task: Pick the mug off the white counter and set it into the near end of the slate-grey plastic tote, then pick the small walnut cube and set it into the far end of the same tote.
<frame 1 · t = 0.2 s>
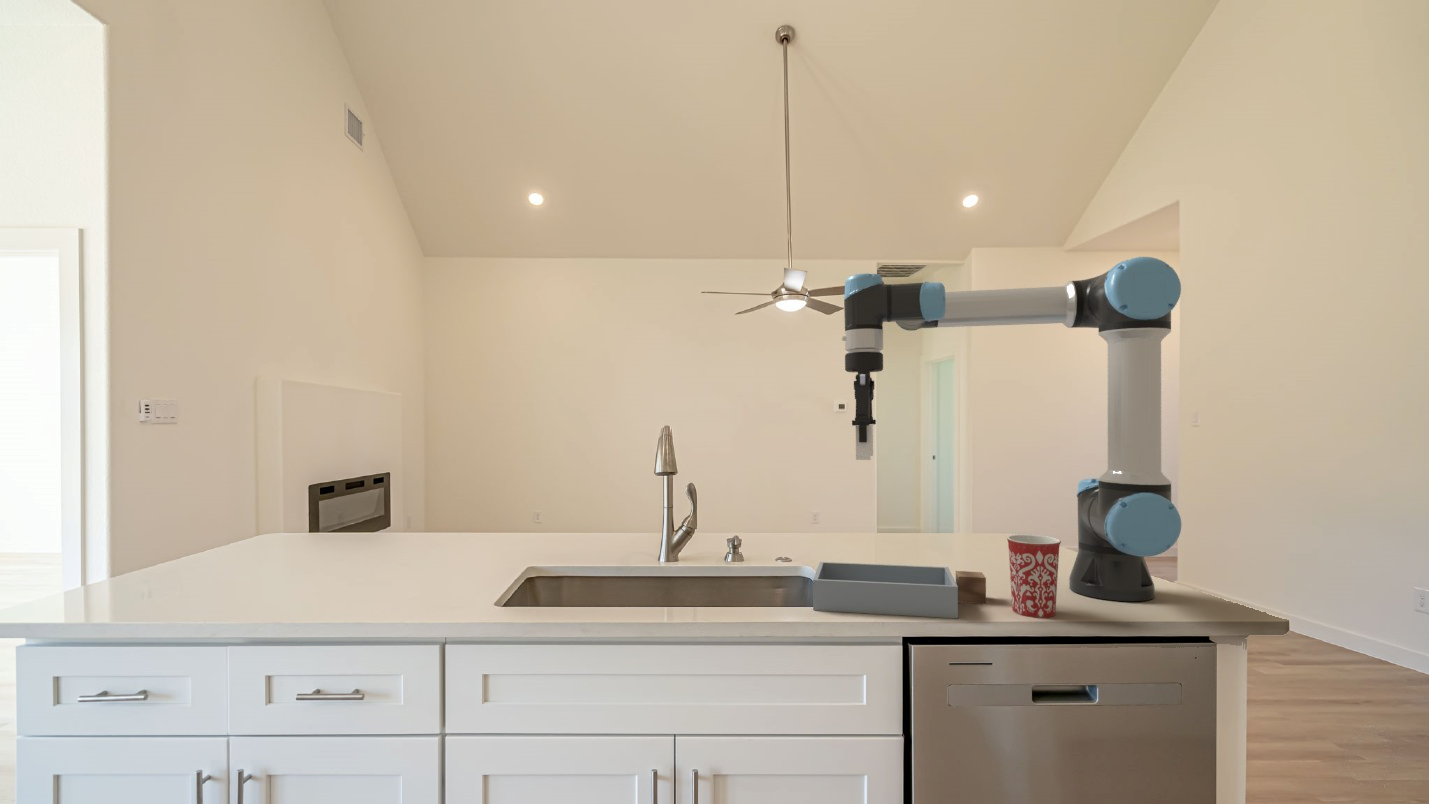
hand: (864, 457, 142), 28 cm above the table, fingers open, 13 cm apart
cube: (970, 599, 139), on the table
tote: (883, 602, 137), on the table
mug: (1031, 610, 132), on the table
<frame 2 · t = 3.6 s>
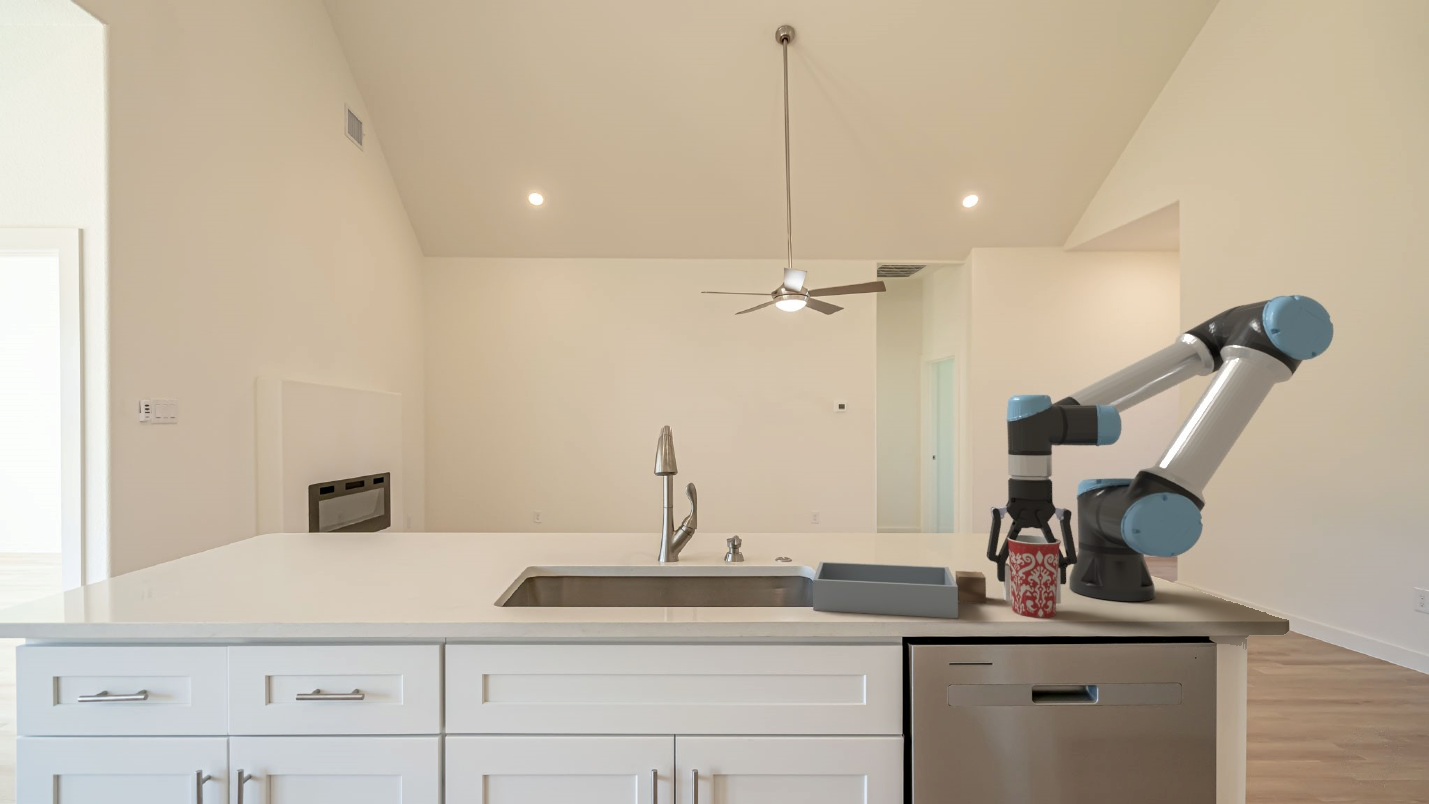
hand: (1031, 600, 132), 2 cm above the table, fingers closed on mug, 8 cm apart
mug: (1031, 610, 132), on the table, touching gripper
everything else where it was.
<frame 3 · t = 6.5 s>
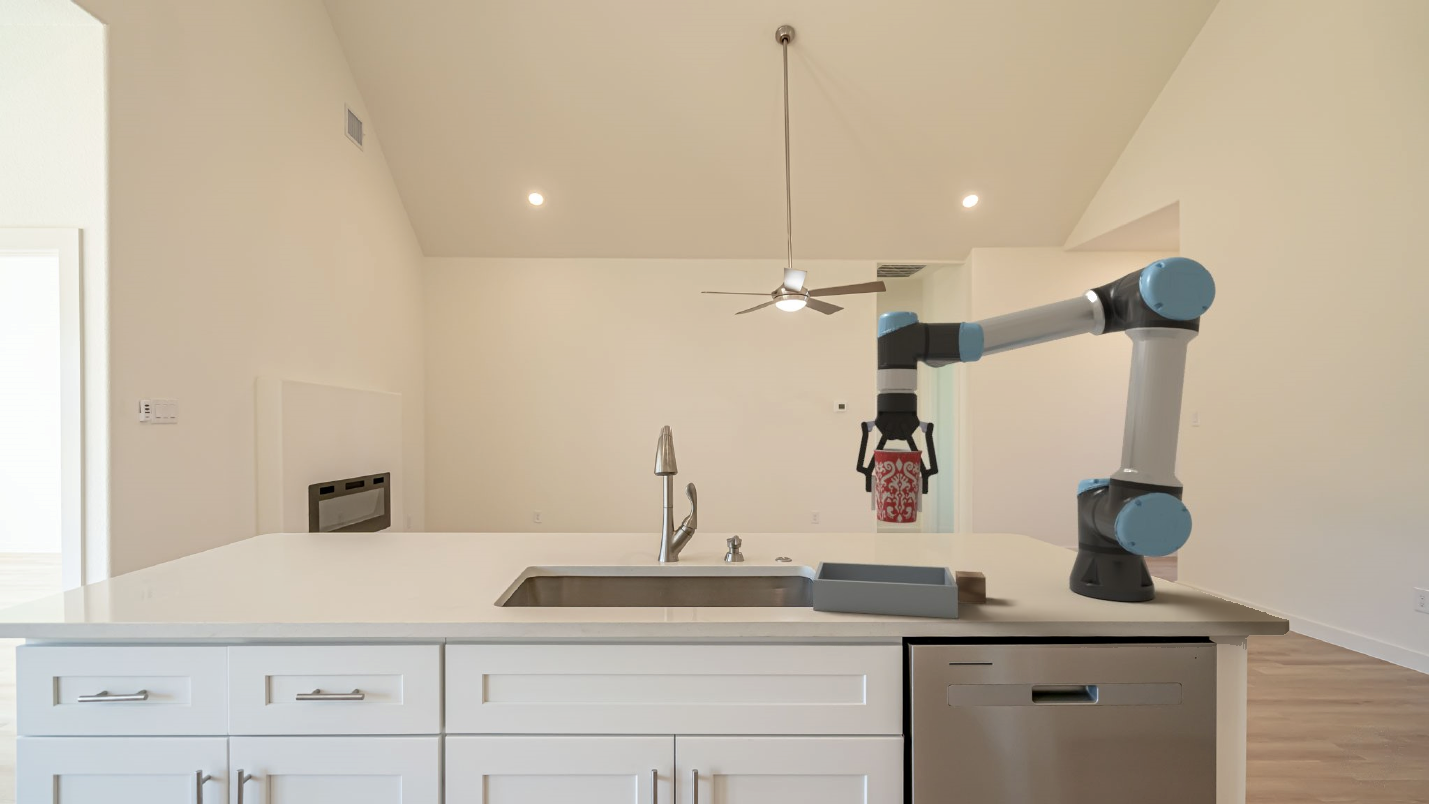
hand: (896, 510, 137), 18 cm above the table, fingers closed on mug, 8 cm apart
mug: (895, 520, 137), point 16 cm above the table, touching gripper
everything else where it was.
when the fingers open (4 cm above the table, at t = 9.5 s): mug drops 2 cm, resting on tote.
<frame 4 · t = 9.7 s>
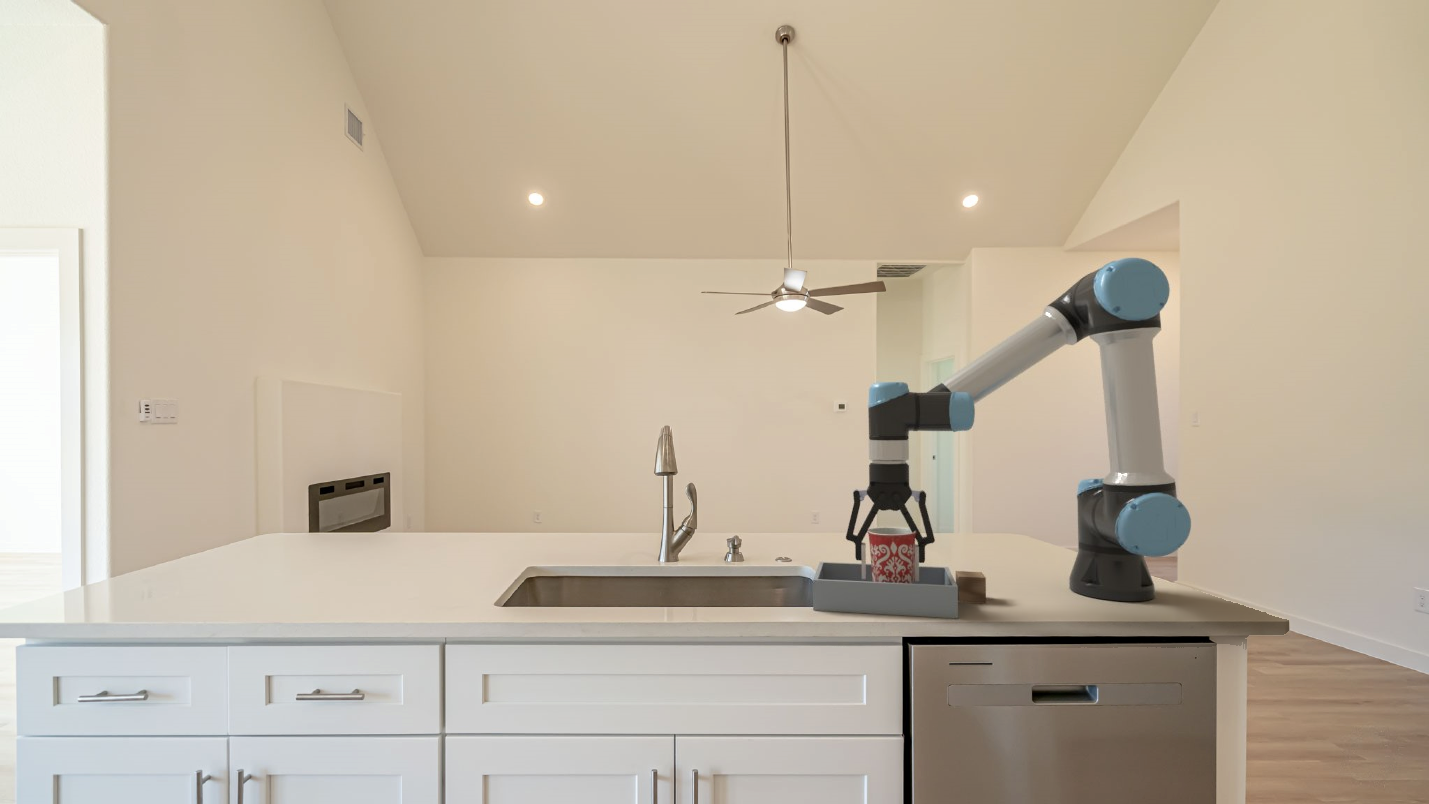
hand: (890, 578, 137), 5 cm above the table, fingers open, 9 cm apart
mug: (893, 600, 136), resting on tote, touching gripper
everything else where it was.
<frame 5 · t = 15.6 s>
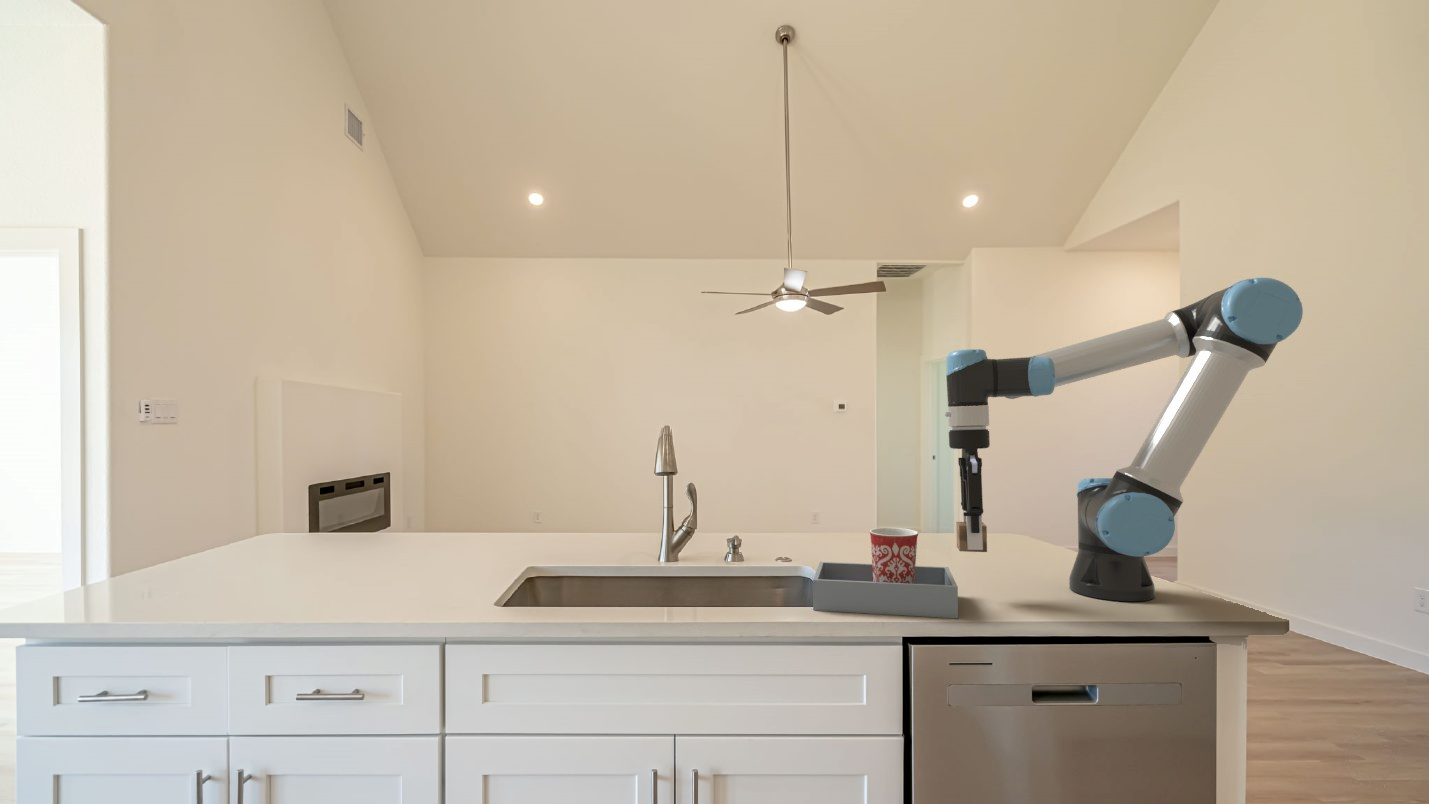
hand: (973, 546, 139), 10 cm above the table, fingers closed on cube, 5 cm apart
cube: (971, 549, 139), point 10 cm above the table, touching gripper
mug: (892, 600, 136), resting on tote
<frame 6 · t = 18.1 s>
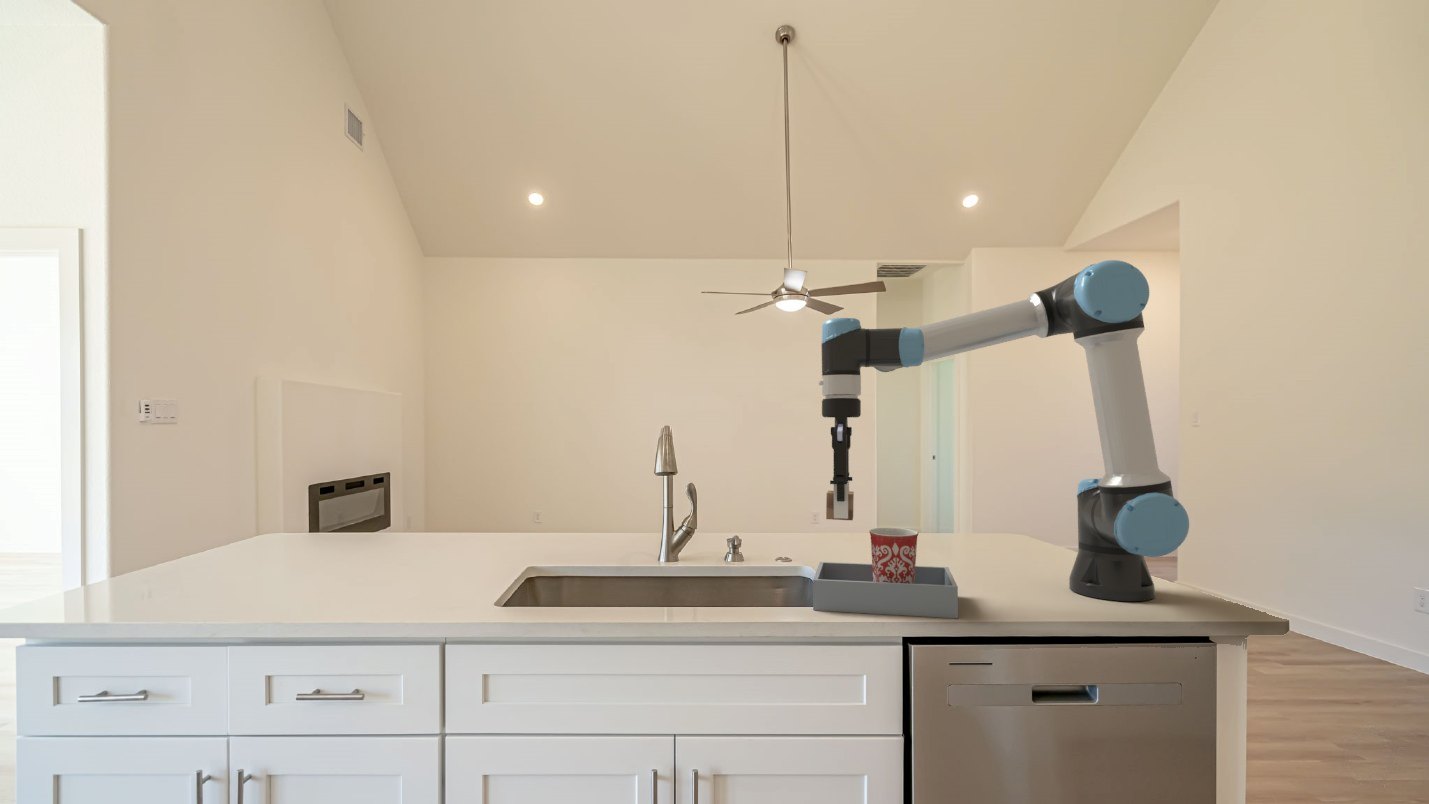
hand: (841, 515, 139), 16 cm above the table, fingers closed on cube, 5 cm apart
cube: (839, 517, 139), point 16 cm above the table, touching gripper
everything else where it was.
when the fingers open (1 cm above the table, at t = 21.2 s): cube stays where it is, resting on tote.
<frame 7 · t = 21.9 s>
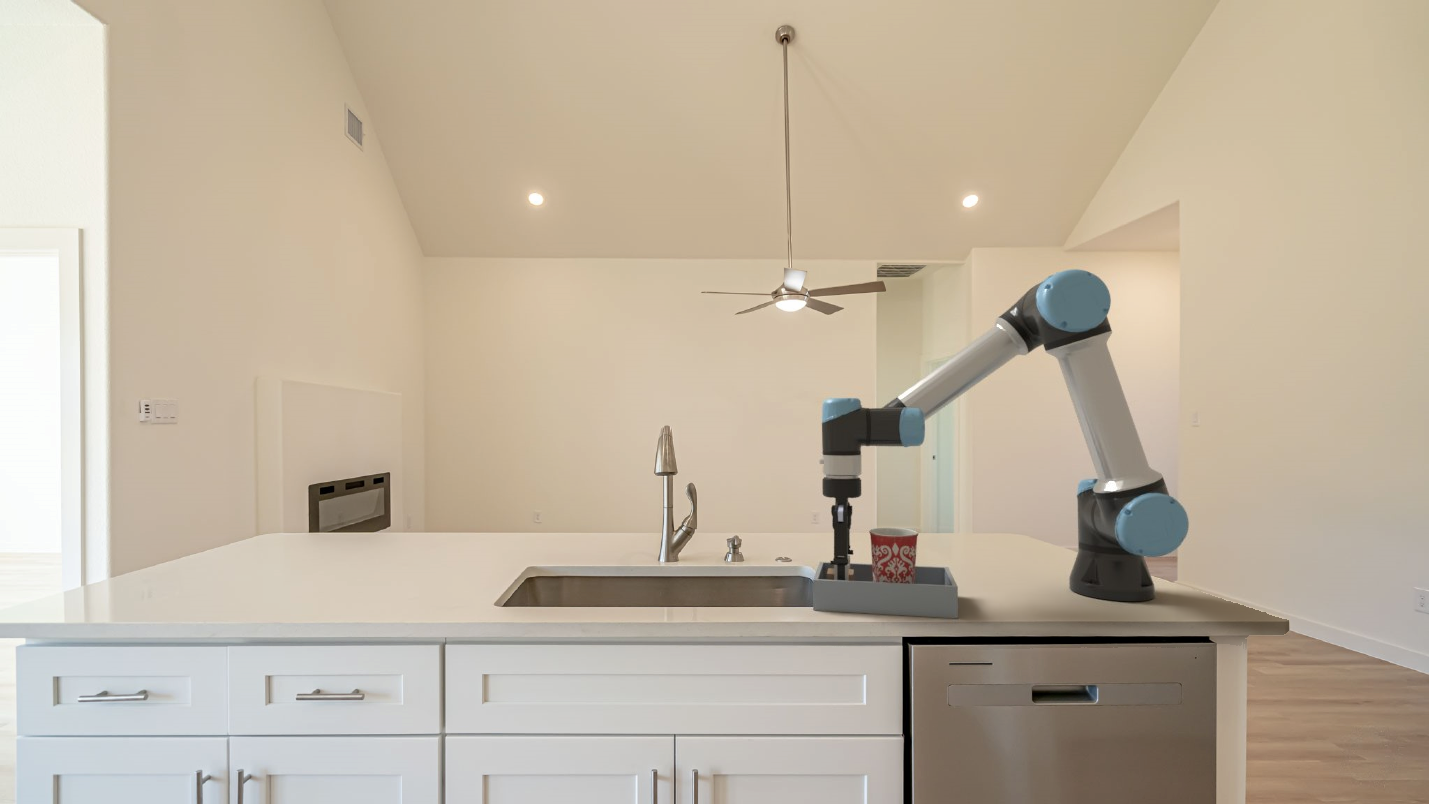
hand: (842, 593, 139), 1 cm above the table, fingers open, 8 cm apart
cube: (840, 597, 139), point 1 cm above the table, touching tote
everything else where it was.
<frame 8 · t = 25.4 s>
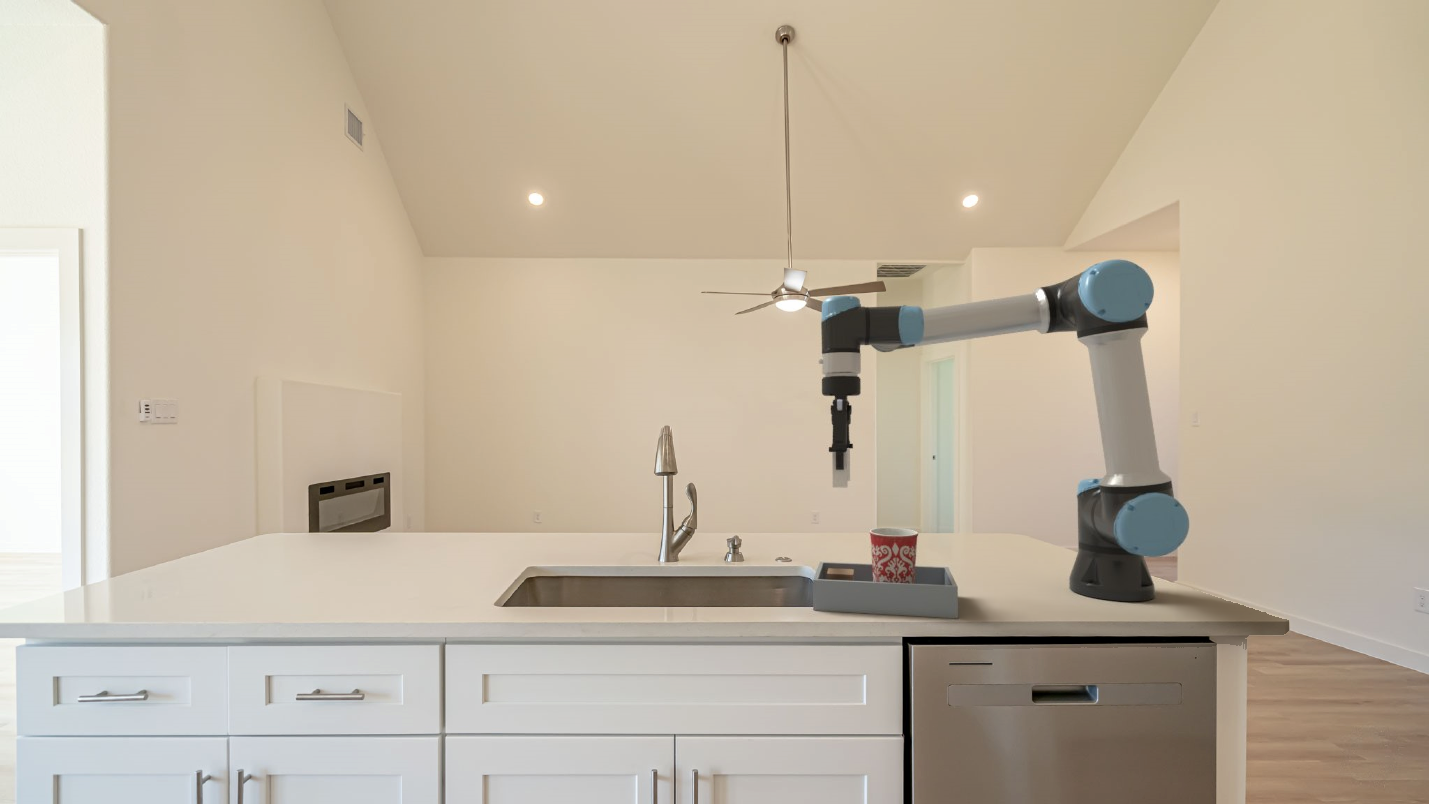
hand: (841, 484, 139), 23 cm above the table, fingers open, 13 cm apart
nothing on the table moved.
at the end: mug inside the target area on the tote (1.8 cm from its centre), point 0.4 cm above the tote's base; mug tilted 0°; cube inside the target area on the tote (8.2 cm from its centre), point 0.6 cm above the tote's base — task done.
